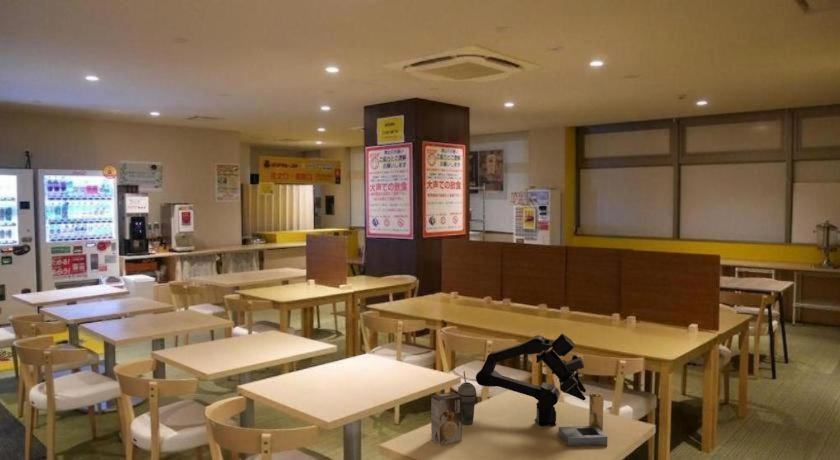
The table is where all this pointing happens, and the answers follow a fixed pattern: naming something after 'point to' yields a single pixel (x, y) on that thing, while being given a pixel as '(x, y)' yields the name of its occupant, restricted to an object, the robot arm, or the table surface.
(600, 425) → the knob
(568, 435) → the frame
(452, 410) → the coffee box
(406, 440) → the table surface
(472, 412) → the beverage cup
